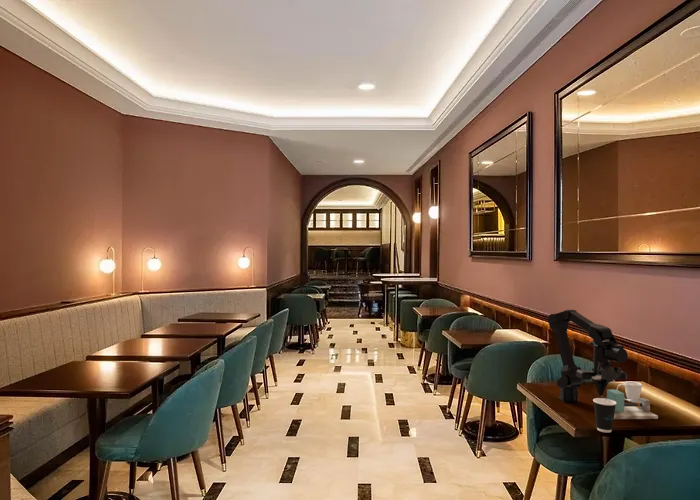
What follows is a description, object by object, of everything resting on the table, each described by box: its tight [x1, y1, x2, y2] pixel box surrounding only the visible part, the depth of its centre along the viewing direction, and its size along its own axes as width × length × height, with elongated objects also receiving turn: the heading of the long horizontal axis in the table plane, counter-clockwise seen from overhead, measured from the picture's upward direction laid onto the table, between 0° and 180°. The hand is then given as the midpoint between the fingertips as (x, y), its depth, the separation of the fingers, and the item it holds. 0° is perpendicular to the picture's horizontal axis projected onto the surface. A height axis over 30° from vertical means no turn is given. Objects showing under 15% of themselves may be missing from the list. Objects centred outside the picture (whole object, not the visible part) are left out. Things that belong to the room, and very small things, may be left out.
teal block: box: [606, 389, 625, 412], centre depth 208 cm, size 4×6×7 cm
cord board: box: [600, 395, 659, 420], centre depth 209 cm, size 18×14×6 cm
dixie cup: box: [592, 397, 617, 433], centre depth 189 cm, size 8×8×11 cm
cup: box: [616, 380, 643, 403], centre depth 226 cm, size 7×10×8 cm
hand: (600, 395), depth 208 cm, fingers closed
